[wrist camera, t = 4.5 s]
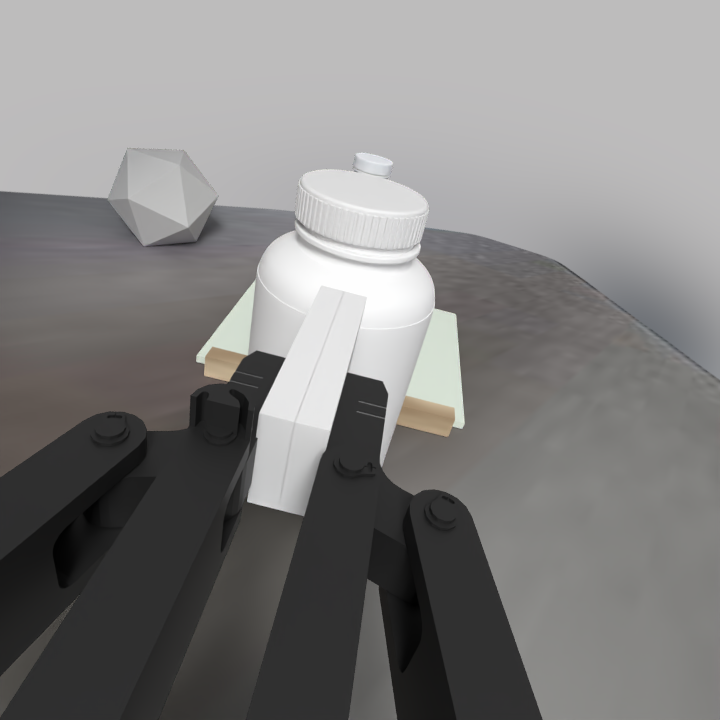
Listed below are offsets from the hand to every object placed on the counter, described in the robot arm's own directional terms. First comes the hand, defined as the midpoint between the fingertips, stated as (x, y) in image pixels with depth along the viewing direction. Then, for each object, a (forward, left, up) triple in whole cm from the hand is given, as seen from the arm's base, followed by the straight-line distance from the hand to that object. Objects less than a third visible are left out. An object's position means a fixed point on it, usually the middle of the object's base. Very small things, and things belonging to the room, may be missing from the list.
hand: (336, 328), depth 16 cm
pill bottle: (-6, +3, -12) cm, 14 cm away
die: (-36, -2, -12) cm, 38 cm away
